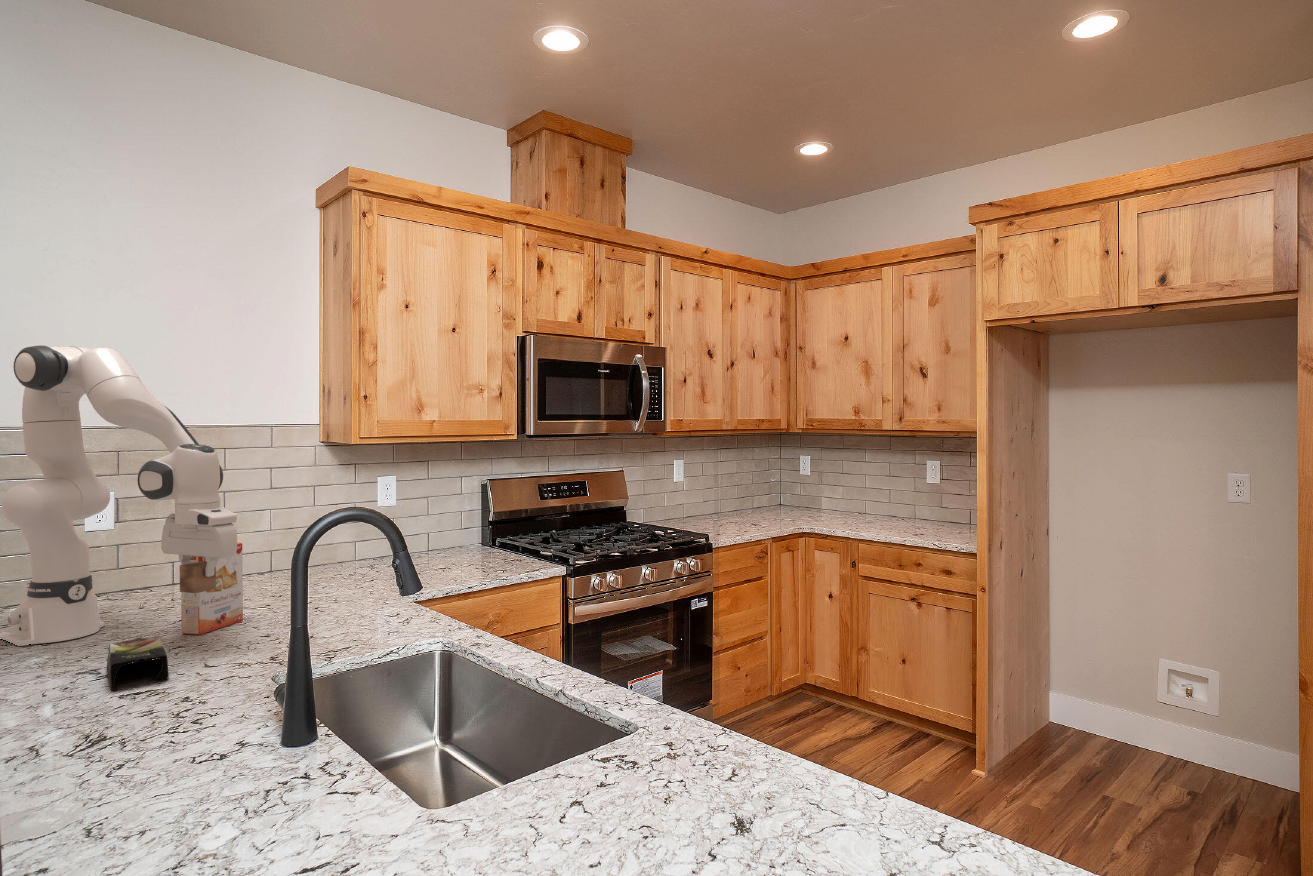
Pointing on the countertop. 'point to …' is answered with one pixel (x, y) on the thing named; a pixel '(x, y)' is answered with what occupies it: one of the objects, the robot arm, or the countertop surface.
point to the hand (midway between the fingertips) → (198, 575)
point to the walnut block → (196, 578)
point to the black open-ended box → (136, 656)
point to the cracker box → (215, 598)
